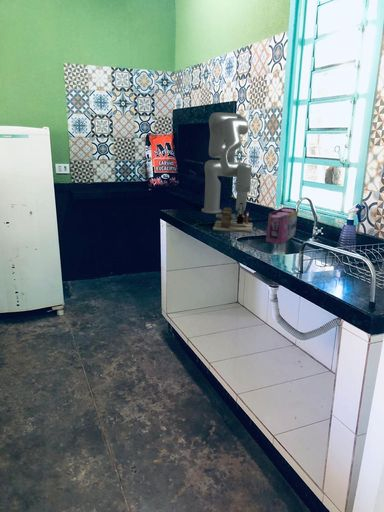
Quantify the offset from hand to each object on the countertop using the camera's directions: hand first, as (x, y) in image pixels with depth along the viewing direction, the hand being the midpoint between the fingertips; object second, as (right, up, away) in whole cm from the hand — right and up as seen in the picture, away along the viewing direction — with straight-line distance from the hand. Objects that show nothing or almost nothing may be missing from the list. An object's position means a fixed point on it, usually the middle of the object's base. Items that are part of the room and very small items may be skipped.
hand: (240, 222), depth 217 cm
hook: (-4, 0, +1) cm, 4 cm away
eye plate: (-4, -3, +1) cm, 5 cm away
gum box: (+18, -10, -16) cm, 26 cm away
